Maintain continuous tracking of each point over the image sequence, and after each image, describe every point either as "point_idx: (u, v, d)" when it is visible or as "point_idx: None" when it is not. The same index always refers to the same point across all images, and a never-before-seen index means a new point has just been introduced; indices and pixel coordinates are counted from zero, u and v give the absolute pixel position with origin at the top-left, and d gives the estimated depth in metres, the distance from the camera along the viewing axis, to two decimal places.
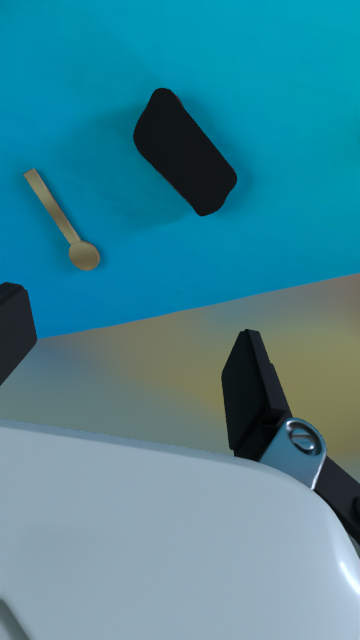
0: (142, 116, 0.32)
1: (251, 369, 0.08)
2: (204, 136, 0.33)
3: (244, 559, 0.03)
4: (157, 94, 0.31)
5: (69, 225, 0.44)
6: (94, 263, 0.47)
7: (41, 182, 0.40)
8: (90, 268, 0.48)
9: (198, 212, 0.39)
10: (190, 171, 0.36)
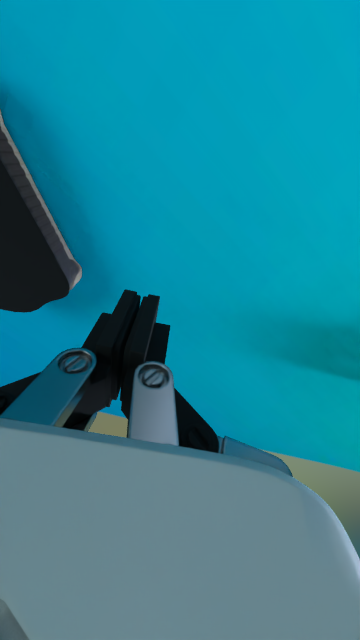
0: None
1: (133, 324, 0.09)
2: (18, 197, 0.16)
3: (244, 559, 0.03)
4: None
5: None
6: None
7: None
8: None
9: None
10: None
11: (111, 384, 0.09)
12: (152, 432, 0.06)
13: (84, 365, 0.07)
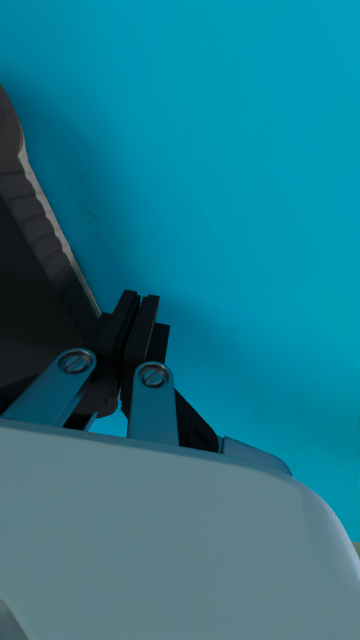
0: None
1: (133, 324, 0.09)
2: (51, 293, 0.09)
3: (244, 559, 0.03)
4: None
5: None
6: None
7: None
8: None
9: None
10: None
11: (111, 384, 0.09)
12: (152, 432, 0.06)
13: (84, 365, 0.07)
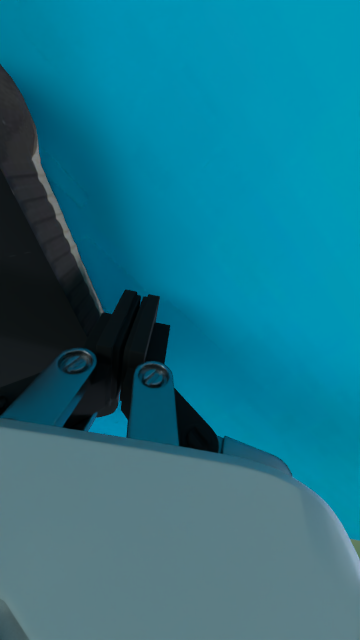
0: None
1: (133, 324, 0.09)
2: (59, 294, 0.09)
3: (244, 559, 0.03)
4: None
5: None
6: None
7: None
8: None
9: None
10: None
11: (111, 384, 0.09)
12: (152, 432, 0.06)
13: (84, 365, 0.07)
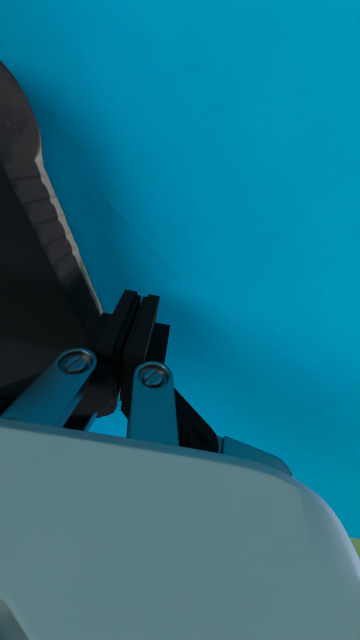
0: None
1: (133, 324, 0.09)
2: (60, 295, 0.09)
3: (244, 559, 0.03)
4: None
5: None
6: None
7: None
8: None
9: None
10: None
11: (111, 384, 0.09)
12: (152, 432, 0.06)
13: (84, 365, 0.07)
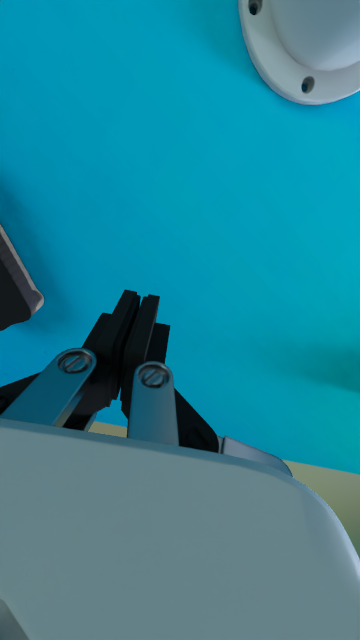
0: None
1: (133, 324, 0.09)
2: None
3: (244, 559, 0.03)
4: None
5: None
6: None
7: None
8: None
9: None
10: None
11: (111, 384, 0.09)
12: (152, 432, 0.06)
13: (84, 365, 0.07)
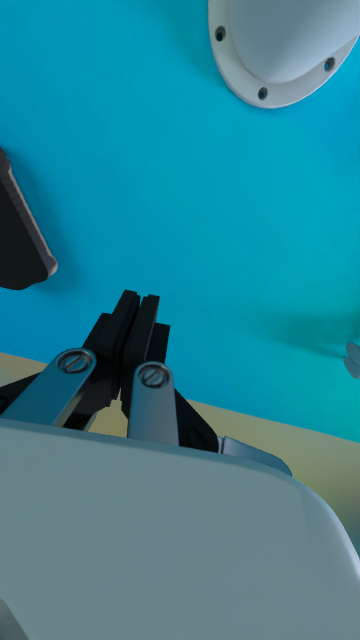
0: None
1: (133, 324, 0.09)
2: (18, 217, 0.27)
3: (244, 559, 0.03)
4: None
5: None
6: None
7: None
8: None
9: None
10: None
11: (111, 384, 0.09)
12: (152, 432, 0.06)
13: (84, 365, 0.07)
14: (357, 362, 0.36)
